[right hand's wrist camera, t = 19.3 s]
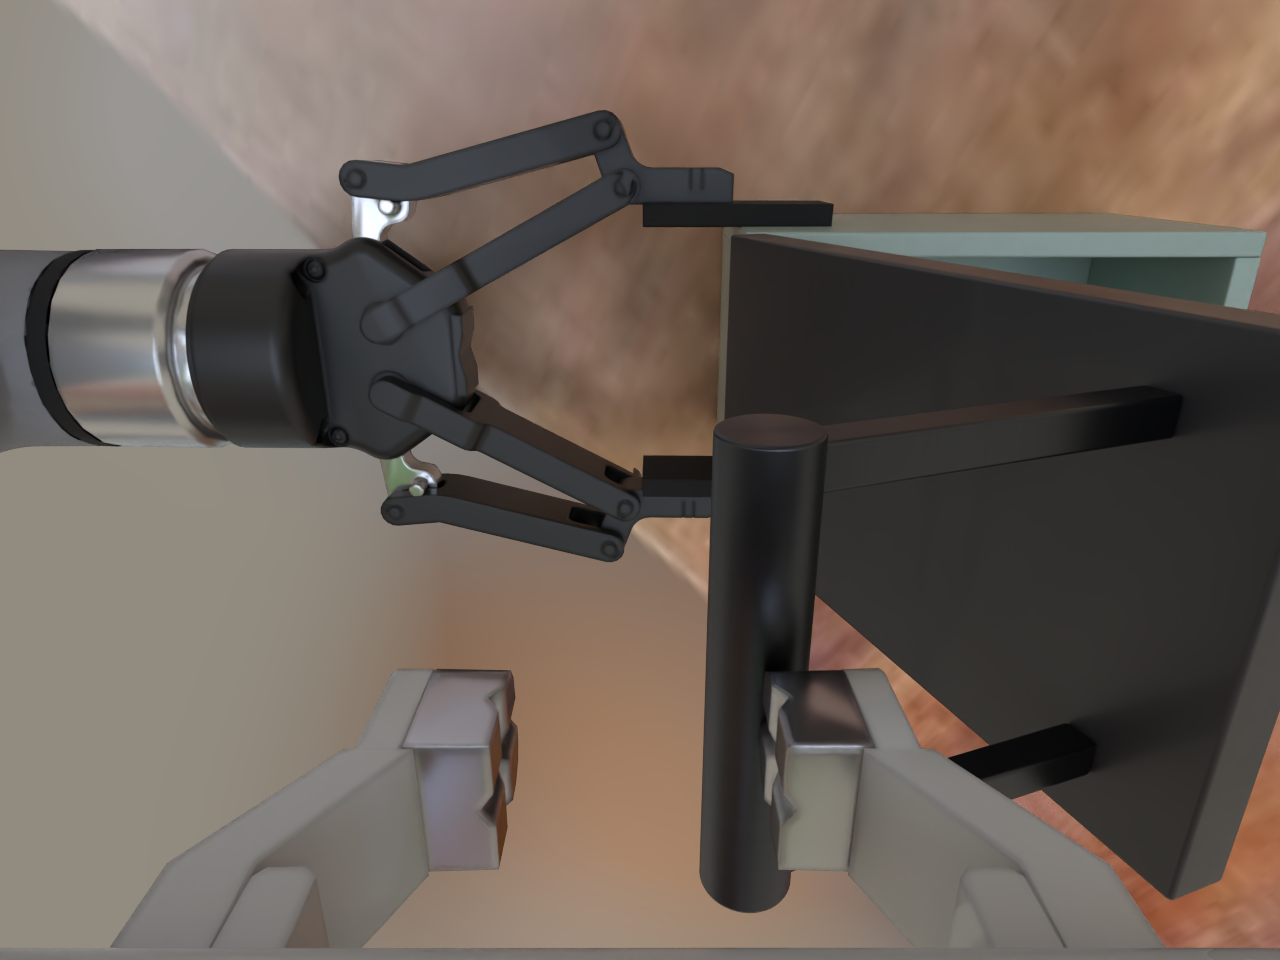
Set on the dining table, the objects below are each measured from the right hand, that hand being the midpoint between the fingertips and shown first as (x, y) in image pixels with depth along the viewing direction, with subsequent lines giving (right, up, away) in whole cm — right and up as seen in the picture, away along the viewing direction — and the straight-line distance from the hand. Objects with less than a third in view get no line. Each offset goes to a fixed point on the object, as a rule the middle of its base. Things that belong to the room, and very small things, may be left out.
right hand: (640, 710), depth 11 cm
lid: (+7, +3, +9) cm, 12 cm away
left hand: (+7, +8, +20) cm, 23 cm away
